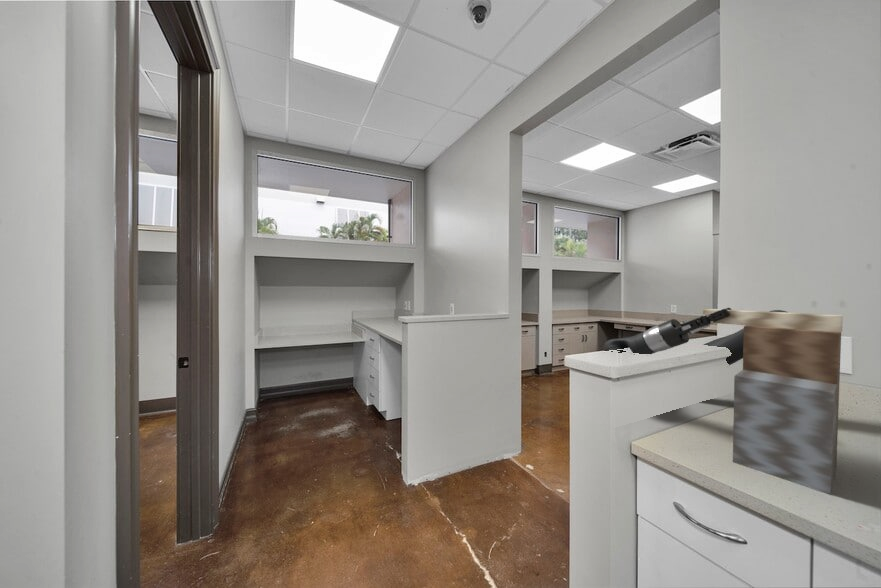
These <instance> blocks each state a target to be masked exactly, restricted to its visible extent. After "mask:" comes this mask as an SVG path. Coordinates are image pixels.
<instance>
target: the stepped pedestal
mask: <svg viewBox="0 0 881 588" xmlns="http://www.w3.org/2000/svg"><path fill="white" fill-rule="evenodd" d="M743 328H744V341H743V358H742V370H740V371H739V372H737V373H736V374H735V375H734V377H733V378H734V379H733V381H734V385H733V425H732V426H733V431H732V436H733V437H732V462H733V463H735V464H738V465H741V466H744V467H748V468H750V469H753V470H756V471H759V472H762V473H765V474H769V475H771V476H774V477H777V478H780V479H782V480H786V481H789V482H791V483H795V484H798V485H800V486H804V487H806V488H808V489H809V488H810V489H813V490H816V491H819V492H820V493H825V494H827V495H831V494H832V488H833V483H834V480H835V476H836V475H835V474H836V470H837V464H838V463H837V462H838V460H837V459H838V457H837V456H838V436H839V435H838V432H839V406H840V402H839V401H840V376H841V374H840V373H841V353H842V352H841V350H842V349H841V347H842V332H841V333H840V332H826V331H813V330H800V329H787V328H774V327H761V326H747V325H743Z"/></svg>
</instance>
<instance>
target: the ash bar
mask: <svg viewBox="0 0 881 588" xmlns="http://www.w3.org/2000/svg"><path fill="white" fill-rule="evenodd" d="M722 309H723V308H719V309H718V308H704V309H703V310H702V315H703V316H705V315H708V314H709V315H710V314H712V313H714V312H717V311H720V310H722ZM727 311H728V312H729V313H730V316H729V317H726V318H723V319H721V320H718V321H715V322H714V323H713V324H721V325H722V324H723V325H736V326H746V325H747V326H761V327H774V328H787V329H800V330H813V331H826V332H840V333H841V334H842V333H843V322H844V321H843V320H844V319H843V318H844V317H843V314H823V313H821V314H820V313H802V312H789V313H787V312H788V311H786V312H769V311H766V310H765V311H763V310H762V311H761V310H743V309H742V310H741V309H740V310H739V309H732V310H727Z"/></svg>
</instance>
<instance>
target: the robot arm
mask: <svg viewBox="0 0 881 588" xmlns="http://www.w3.org/2000/svg"><path fill="white" fill-rule="evenodd" d="M721 309H722V310H720V311H717V312H714V313H712V314H710V315H709V314H708V315H705V316H703V314H702V315H699V316H696V317H693V318H689V319H686V320H683V321H682V323H681V322H680V321H678V320H677V319H674V318H672V319H669V320H667V321H664V322H662V323H659V324H657V325H655V326H652V327H650V328H649V329H647V330H645V331H642V332H640V333H637V334H635V335H633V336H627V337H621V338H611V339H608V340H607V341H606V342H605V343H604V345H603V351H609V350H617V349H624V348H627V349H630V351H631V353H632V354H633V353H639V354H650V355H653V354H655V353H658V352H663V351H667V350H670V349H673V348H676V347H678V346H681V345H684V344H687V343H688V342H689V341H690V336H689V334H690V335H691V334H695V333H698V332H700V331H701V330H703V329H706V328H708V327H709V328H710V327H711V325H712V324H715V323H714V322H715V321H718V320H721V319H723V318H726V317H729V316H730V313H729V312H728V311H727V310H733V309H732V308H731V307H727V308H721ZM768 312H787V313H790V312H789V311H786V310H782V309H781V310H780V309H779V310H778V309H774V310H769V311H768ZM688 333H689V334H688ZM743 341H744V327H743V328H741V329H740V330H738V331H735V332H734V333H732V334H728V335H726V336H722V337H718V338H716V339H712V340H711V341H709V342H706V343H703V345H708V346H717V347H726V348H728V349H729V350H730V352H731V353H732V354H731V356H729V357H727V358H726V361H727V363H728V364H729V366H730V365H731V366H732V365H734V364H735V363H737V362H739V361H740V360H743ZM617 351H620V352H618V353H622V352H626V351H623V350H617ZM611 352H613V351H611Z"/></svg>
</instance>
